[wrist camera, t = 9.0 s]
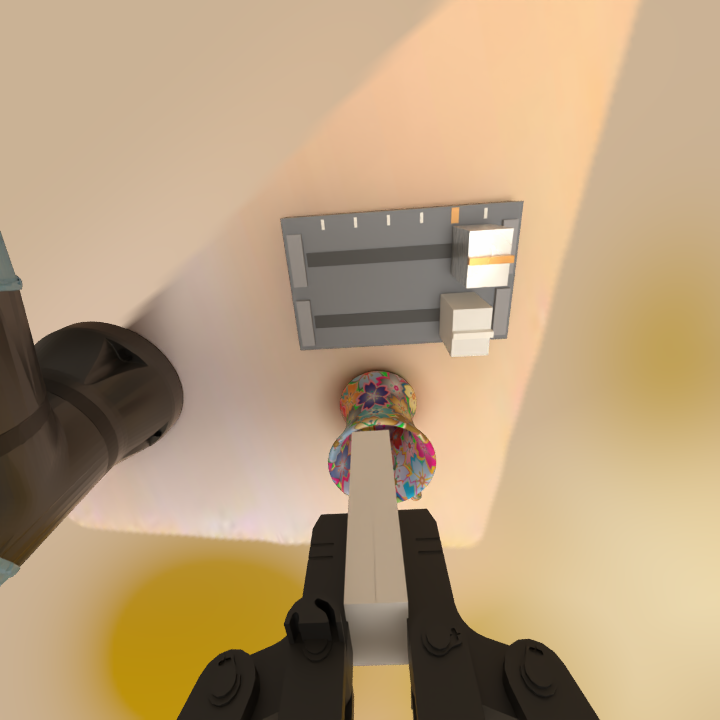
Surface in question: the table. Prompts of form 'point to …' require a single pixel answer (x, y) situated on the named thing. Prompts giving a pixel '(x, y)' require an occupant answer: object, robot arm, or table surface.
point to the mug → (384, 412)
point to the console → (394, 279)
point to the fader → (481, 255)
